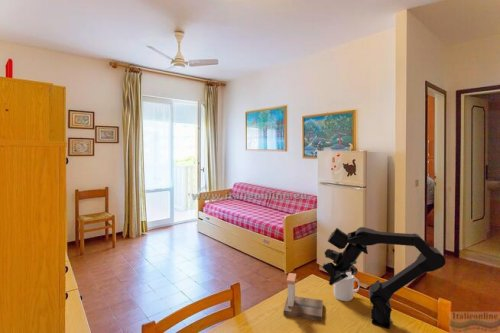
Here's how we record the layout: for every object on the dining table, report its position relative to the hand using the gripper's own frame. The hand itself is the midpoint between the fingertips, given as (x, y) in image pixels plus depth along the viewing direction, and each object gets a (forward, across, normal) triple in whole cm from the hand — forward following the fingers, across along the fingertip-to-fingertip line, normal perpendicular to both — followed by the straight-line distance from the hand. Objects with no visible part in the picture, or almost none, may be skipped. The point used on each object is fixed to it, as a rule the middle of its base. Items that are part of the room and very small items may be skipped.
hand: (330, 284), depth 118 cm
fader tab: (+16, +7, -7) cm, 19 cm away
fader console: (+16, +3, -2) cm, 16 cm away
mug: (+8, -19, +2) cm, 21 cm away
